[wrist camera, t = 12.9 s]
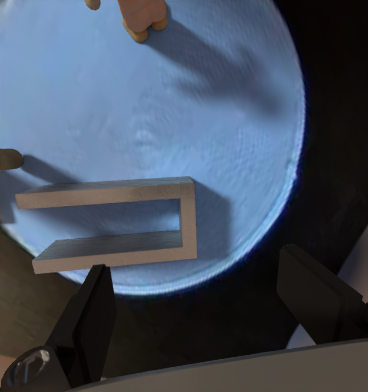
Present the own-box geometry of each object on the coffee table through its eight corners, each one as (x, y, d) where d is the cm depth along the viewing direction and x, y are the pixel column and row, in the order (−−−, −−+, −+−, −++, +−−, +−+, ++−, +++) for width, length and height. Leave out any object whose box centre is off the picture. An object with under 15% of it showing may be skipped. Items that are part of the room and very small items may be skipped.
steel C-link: (188, 176, 24) (194, 182, 19) (191, 239, 25) (197, 258, 21) (43, 185, 22) (14, 194, 18) (58, 250, 24) (35, 273, 20)
